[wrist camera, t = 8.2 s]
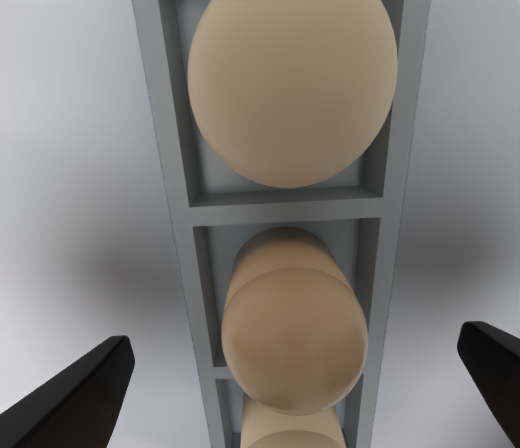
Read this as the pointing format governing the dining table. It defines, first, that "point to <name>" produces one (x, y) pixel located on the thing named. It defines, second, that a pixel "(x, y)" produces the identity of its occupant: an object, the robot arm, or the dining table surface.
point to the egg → (292, 324)
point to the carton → (283, 168)
